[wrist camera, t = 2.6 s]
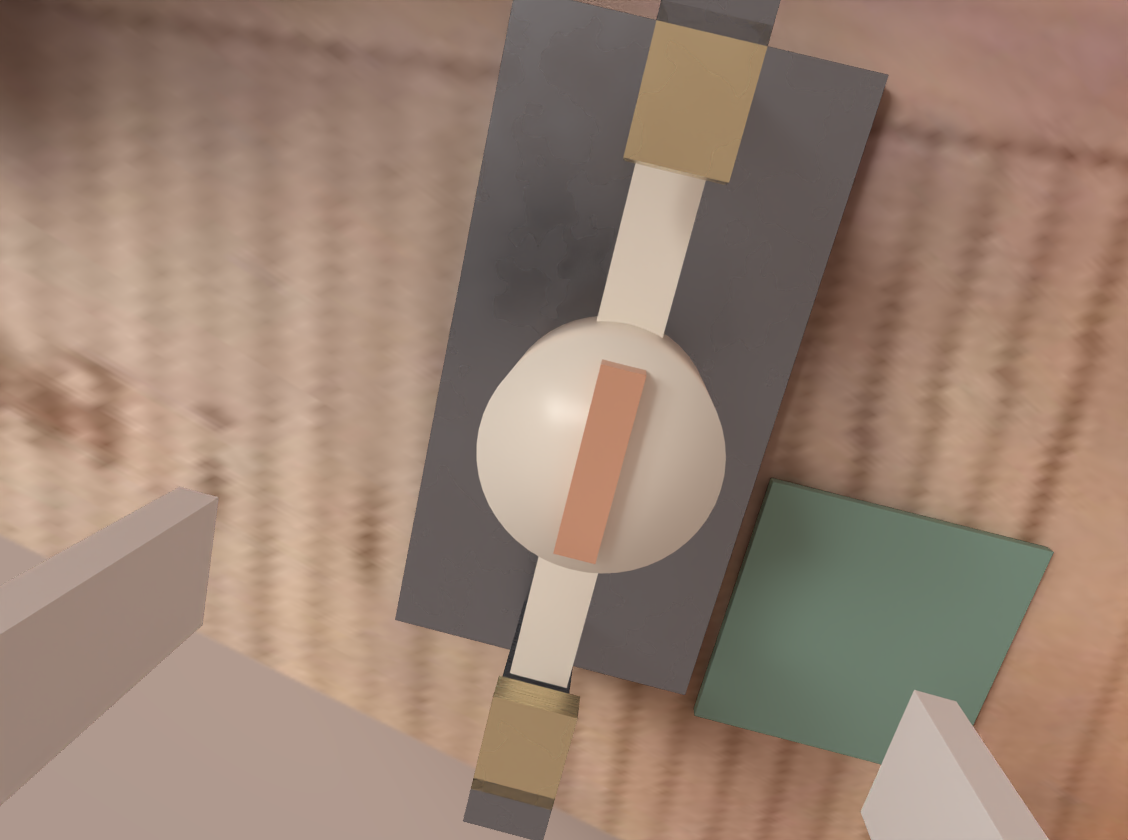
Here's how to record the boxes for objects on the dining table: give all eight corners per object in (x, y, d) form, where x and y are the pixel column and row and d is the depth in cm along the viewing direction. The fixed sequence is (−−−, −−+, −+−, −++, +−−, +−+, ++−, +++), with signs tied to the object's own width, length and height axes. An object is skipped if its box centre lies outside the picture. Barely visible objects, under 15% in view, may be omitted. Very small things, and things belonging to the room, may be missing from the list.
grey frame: (519, -5, 32) (439, -166, 19) (879, 80, 31) (1058, -23, 18) (401, 608, 40) (288, 797, 27) (683, 681, 40) (708, 909, 27)
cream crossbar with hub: (569, 95, 25) (552, 59, 20) (795, 148, 25) (842, 128, 20) (452, 635, 31) (413, 725, 26) (633, 683, 31) (633, 783, 26)
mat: (771, 477, 37) (773, 481, 36) (1047, 547, 36) (1053, 552, 36) (693, 708, 40) (694, 715, 40) (942, 773, 40) (946, 781, 39)
